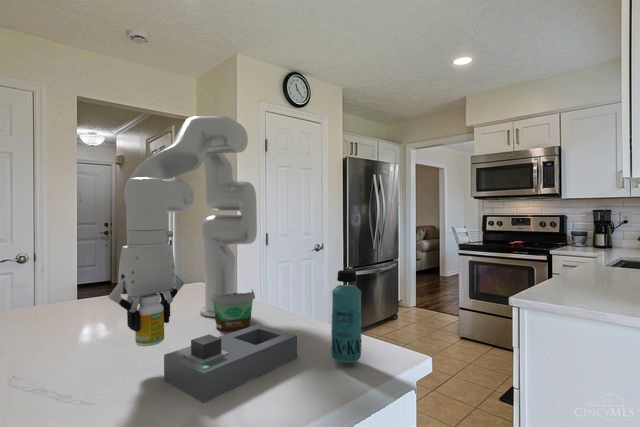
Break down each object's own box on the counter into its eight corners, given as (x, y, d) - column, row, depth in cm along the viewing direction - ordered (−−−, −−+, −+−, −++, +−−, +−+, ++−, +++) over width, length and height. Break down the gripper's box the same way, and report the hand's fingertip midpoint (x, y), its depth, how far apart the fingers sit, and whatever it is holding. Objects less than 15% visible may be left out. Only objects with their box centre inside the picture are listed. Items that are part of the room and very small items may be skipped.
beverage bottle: (329, 358, 79) (329, 268, 79) (359, 357, 80) (358, 267, 80) (333, 371, 73) (332, 273, 73) (365, 369, 73) (364, 272, 73)
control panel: (258, 344, 88) (257, 311, 88) (297, 357, 80) (297, 321, 80) (164, 380, 69) (163, 339, 69) (203, 402, 61) (203, 355, 61)
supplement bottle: (153, 348, 71) (152, 299, 70) (129, 346, 72) (128, 298, 71) (169, 337, 76) (168, 292, 76) (147, 335, 77) (146, 291, 77)
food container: (215, 336, 94) (215, 298, 94) (211, 329, 99) (210, 293, 99) (260, 329, 99) (260, 293, 99) (254, 323, 105) (254, 289, 105)
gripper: (177, 234, 82) (178, 312, 83) (93, 240, 69) (96, 333, 69) (195, 235, 78) (197, 318, 78) (110, 243, 64) (113, 343, 65)
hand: (149, 324), depth 74 cm, fingers closed on supplement bottle, 5 cm apart
